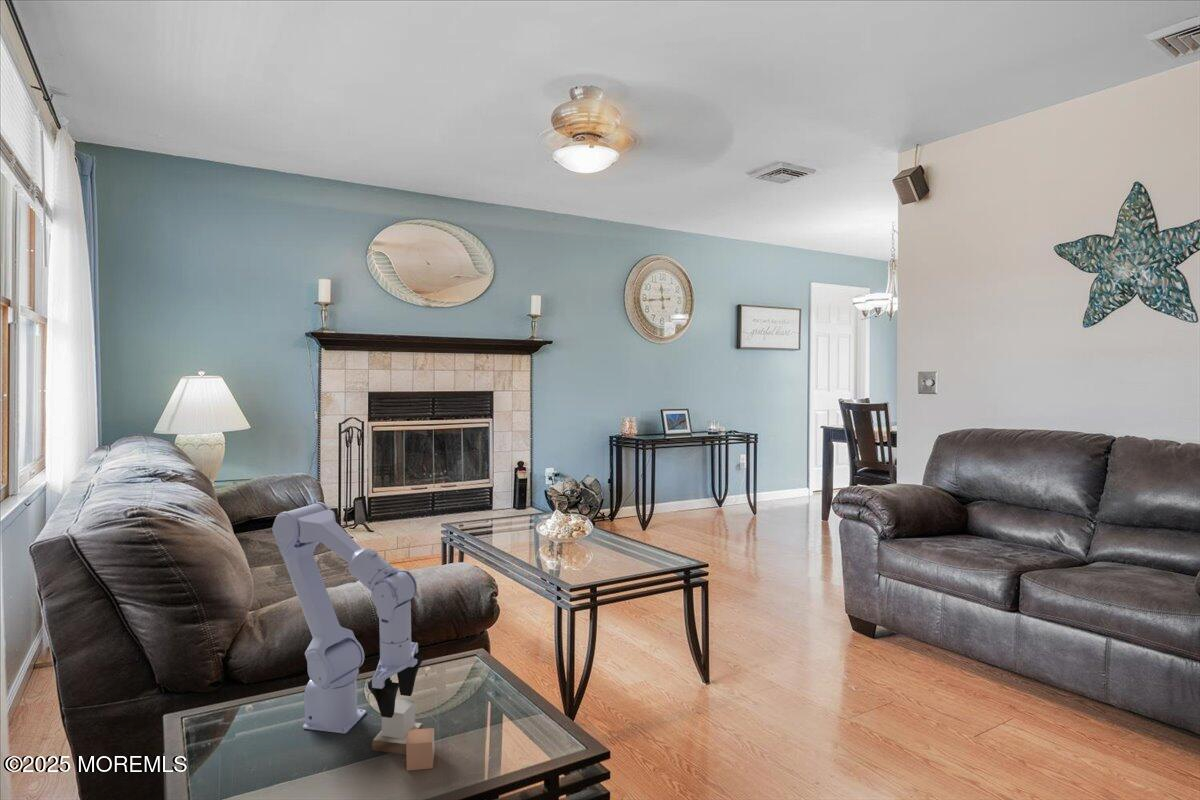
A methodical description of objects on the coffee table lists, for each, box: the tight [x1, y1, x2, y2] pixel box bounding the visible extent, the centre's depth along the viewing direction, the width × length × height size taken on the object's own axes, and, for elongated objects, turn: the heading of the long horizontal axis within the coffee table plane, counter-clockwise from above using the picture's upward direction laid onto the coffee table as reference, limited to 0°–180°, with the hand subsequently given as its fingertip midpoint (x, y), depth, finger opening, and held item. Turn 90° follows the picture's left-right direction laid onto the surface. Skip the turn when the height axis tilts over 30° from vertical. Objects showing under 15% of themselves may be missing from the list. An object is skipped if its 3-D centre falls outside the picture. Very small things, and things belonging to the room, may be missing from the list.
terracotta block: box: [405, 727, 436, 771], centre depth 128 cm, size 4×4×5 cm
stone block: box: [381, 698, 416, 739], centre depth 134 cm, size 4×4×5 cm
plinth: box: [371, 722, 424, 755], centre depth 134 cm, size 7×7×2 cm
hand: (397, 705), depth 133 cm, fingers open, 7 cm apart
